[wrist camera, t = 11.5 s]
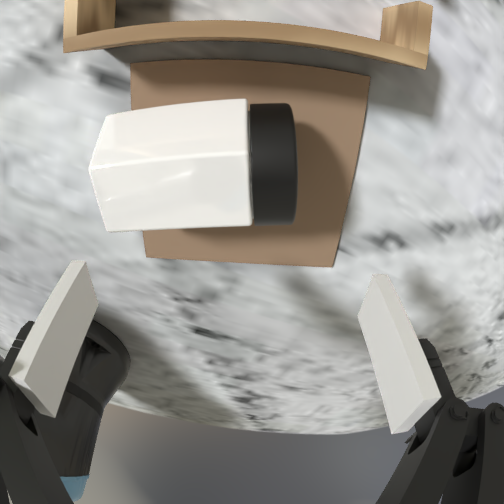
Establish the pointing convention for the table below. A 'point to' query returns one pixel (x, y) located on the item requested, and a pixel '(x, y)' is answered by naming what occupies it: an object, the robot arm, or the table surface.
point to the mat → (308, 151)
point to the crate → (253, 32)
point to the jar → (197, 166)
